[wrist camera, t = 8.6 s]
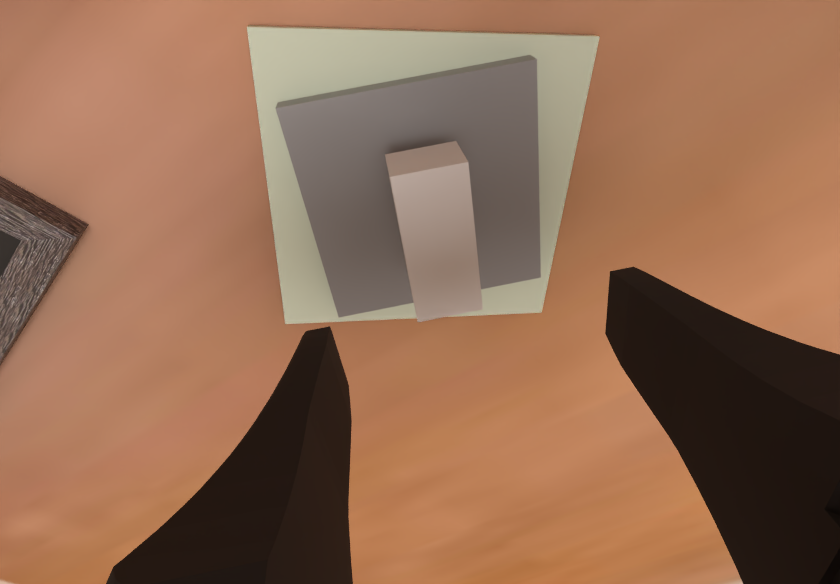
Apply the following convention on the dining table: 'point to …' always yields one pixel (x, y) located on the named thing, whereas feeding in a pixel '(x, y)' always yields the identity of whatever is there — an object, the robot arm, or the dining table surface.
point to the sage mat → (392, 60)
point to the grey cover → (422, 186)
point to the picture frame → (29, 255)
